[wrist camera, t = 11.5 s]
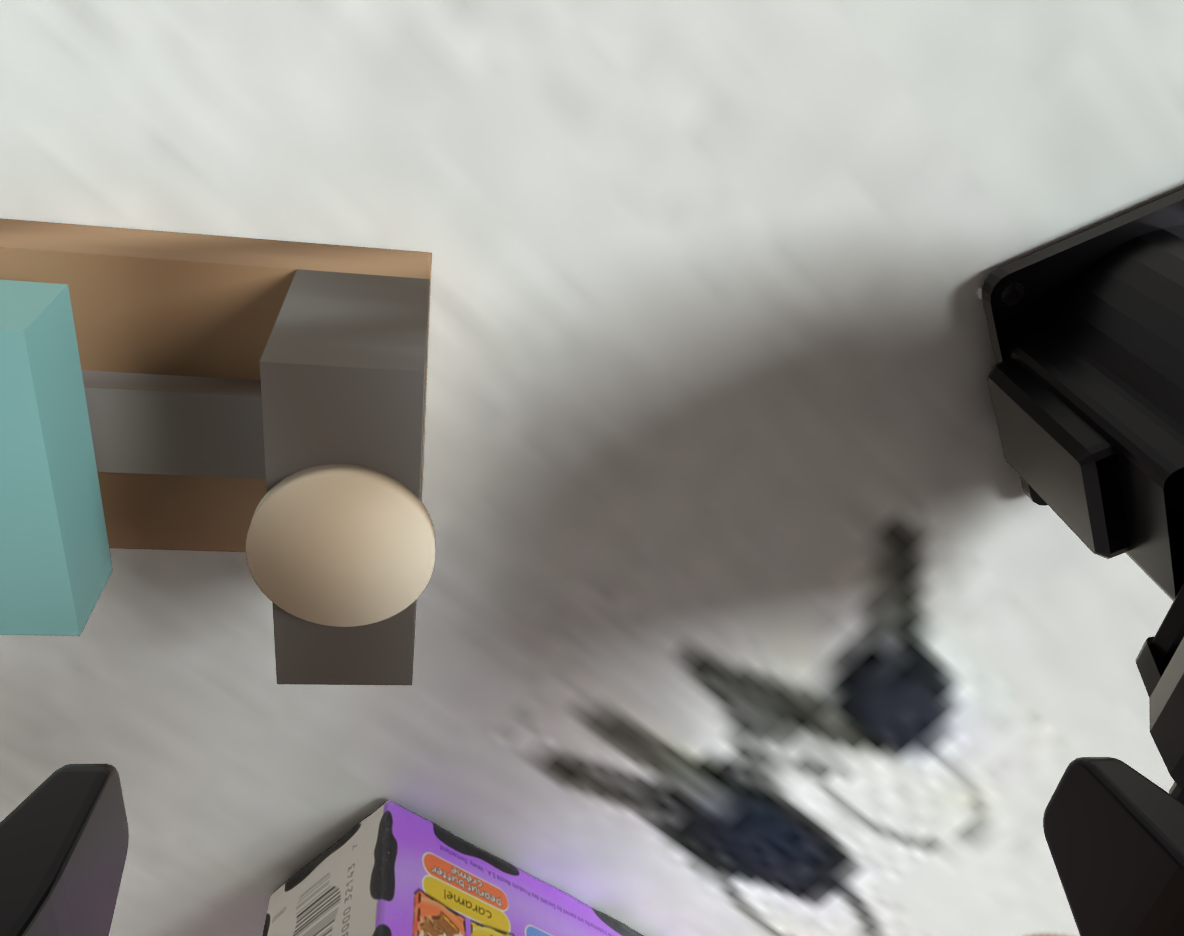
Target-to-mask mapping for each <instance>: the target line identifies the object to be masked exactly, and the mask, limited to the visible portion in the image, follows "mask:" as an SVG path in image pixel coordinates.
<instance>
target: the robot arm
mask: <svg viewBox="0 0 1184 936" xmlns="http://www.w3.org/2000/svg"><path fill="white" fill-rule="evenodd" d="M1013 283H1015V289H1014V291H1013V292H1012V294H1011V295H1009V296H1008V297H1007V298H1002V299H1001V297H1002V292H1003V291H1004V289H1005V288H1006V287H1007V286H1009V285H1010V284H1013ZM982 300H983V304H984V309H985V314H986V318H987V323H988V328H989V332H990V337H991V342H992V347H993V351H994V356H995V361H996V364H994V365H993V366H992V367H991V370H990V372H989V375H988V377H987V380H988V384H989V389H990V393H991V398H992V402H993V407H994V411H995V416H996V420H997V425H998V429H999V434H1000V438H1001V443H1002V448H1003V452H1004V456H1005V459H1006V460H1007V462H1008V463H1009V464H1010V465H1011V466H1012V467H1013V468H1014V469H1015V470H1016V471H1017V472H1018V473H1019V474H1020V478H1021V483H1022V488H1023V489H1024V491H1025V493H1026V494H1027V495H1028V496H1029V497H1030V499H1031V500H1032V501H1033V502H1035V503H1037V504H1038V505H1049V506H1050V507H1051V508H1052V510H1053V511H1054V512H1055V513H1056V514H1057V515H1058V516H1059V517H1060V518H1061V519H1062V520H1063V521H1064V522H1065V523H1066V524H1067V525H1068V527H1069V528H1070V529H1071V530H1072V531H1073V532H1074V533H1075V534H1076V535H1077V536H1078V537H1079V538H1080V539H1081V540H1082V541H1083V543H1084V544H1085V545H1086V546H1087V547H1088V548H1089V549H1090V550H1091V551H1092V552H1093V553H1094V554H1097V555H1099V556H1102V557H1104V558H1107V559H1109V558H1112V557H1114V556H1117V555H1119V554H1122V553H1126V554H1127V555H1128V556H1129V557H1130V558H1131V559H1132V560H1133V561H1134V562H1135V563H1136V564H1137V565H1138V566H1139V567H1140V568H1141V569H1142V570H1143V571H1144V572H1145V573H1146V574H1147V575H1148V576H1149V577H1150V578H1151V579H1152V580H1153V581H1154V582H1155V583H1156V584H1157V585H1158V586H1159V587H1160V588H1161V589H1162V590H1163V591H1164V592H1165V593H1166V594H1167V595H1168V596H1169V597H1170V598H1171V599H1172V600H1173V601H1174V602H1173V604H1172V606H1171V607H1170V609H1169V611H1168V613H1167V615H1166V617H1165V618H1164V620H1163V622H1162V624H1161V626H1160V628H1159V630H1158V631H1157V633H1156V635H1155V637H1149V638H1148V639H1147V640H1146V641H1145V643H1144V645H1143V647H1142V649H1141V651H1140V653H1139V655H1138V656H1137V658H1136V664H1137V667H1138V669H1139V672H1140V674H1141V677H1142V680H1143V682H1144V685H1145V687H1146V690H1147V693H1148V695H1149V698H1150V733H1151V735H1152V737H1153V739H1154V742H1155V744H1156V746H1157V748H1158V750H1159V752H1160V754H1161V756H1162V758H1163V761H1164V763H1165V765H1166V767H1167V769H1168V771H1169V773H1170V775H1171V777H1172V778H1173V779H1174V781H1175V782H1174V784H1173V786H1172V787H1171V789H1170V790H1169V793H1167V792H1166V791H1164V790H1163V789H1162V788H1160V787H1159V786H1157V785H1156V784H1154V783H1153V782H1151V781H1150V780H1149V779H1147V778H1146V777H1144V776H1143V775H1141V774H1140V773H1138V772H1137V771H1136V770H1134V769H1133V768H1131V767H1130V766H1128V765H1127V764H1125V763H1124V762H1122V761H1120V760H1118V759H1115V758H1111V757H1081V758H1077V759H1075V760H1074V761H1072V762H1071V763H1070V764H1069V766H1068V767H1067V769H1066V771H1065V773H1064V775H1063V776H1062V778H1061V780H1060V782H1059V784H1058V786H1057V788H1056V790H1055V792H1054V794H1053V796H1052V798H1051V800H1050V801H1049V803H1048V805H1047V807H1046V810H1045V812H1044V818H1043V827H1044V833H1045V837H1046V841H1047V843H1048V846H1049V849H1050V852H1051V855H1052V857H1053V860H1054V863H1055V866H1056V869H1057V871H1058V874H1059V877H1060V880H1061V883H1062V886H1063V888H1064V891H1065V894H1066V897H1067V900H1068V902H1069V905H1070V908H1071V911H1072V914H1073V916H1074V919H1075V922H1076V925H1077V928H1078V930H1079V933H1080V936H1184V189H1182V190H1179V191H1177V192H1175V193H1172V194H1170V195H1168V196H1165V197H1163V198H1161V199H1158V200H1156V201H1154V202H1151V203H1149V204H1147V205H1144V206H1142V207H1140V208H1137V209H1135V210H1133V211H1130V212H1128V213H1126V214H1124V215H1121V216H1119V217H1117V218H1114V219H1112V220H1110V221H1107V222H1105V223H1103V224H1100V225H1098V226H1096V227H1093V228H1091V229H1089V230H1086V231H1084V232H1082V233H1079V234H1077V235H1075V236H1072V237H1070V238H1068V239H1065V240H1063V241H1061V242H1058V243H1056V244H1054V245H1051V246H1049V247H1047V248H1044V249H1042V250H1040V251H1037V252H1035V253H1033V254H1030V255H1028V256H1026V257H1023V258H1021V259H1019V260H1016V261H1014V262H1012V263H1009V264H1007V265H1005V266H1002V267H1000V268H999V269H997V270H995V271H994V272H992V273H991V274H990V275H989V277H988V278H987V279H986V280H985V283H984V285H983V288H982ZM128 837H129V835H128V823H127V817H126V812H125V806H124V800H123V795H122V789H121V783H120V778H119V774H118V772H117V770H116V768H115V767H114V766H112V765H108V764H69V765H65V766H63V767H61V768H59V769H58V770H56V771H55V772H54V773H53V774H52V775H51V776H50V777H49V778H48V779H46V780H45V781H44V782H43V783H42V784H41V785H40V786H39V787H38V788H37V789H36V790H35V791H34V792H33V793H32V794H30V795H29V796H28V797H27V798H26V799H25V800H24V801H23V802H22V803H21V804H20V805H19V806H18V807H17V808H16V809H14V810H13V811H12V812H11V813H10V814H9V815H8V816H7V817H6V818H5V819H4V820H3V821H2V822H1V823H0V936H108V935H109V931H110V927H111V922H112V918H113V913H114V909H115V904H116V900H117V895H118V891H119V886H120V882H121V877H122V873H123V869H124V864H125V860H126V855H127V848H128Z"/></svg>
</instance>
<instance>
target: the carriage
mask: <svg viewBox="0 0 1184 936" xmlns="http://www.w3.org/2000/svg"><path fill="white" fill-rule="evenodd" d="M111 572H112V563H111V557H110V551H109V544H108V538H107V531H106V525H105V518H104V512H103V506H102V499H101V493H100V486H99V480H98V473H97V467H96V460H95V454H94V448H93V441H92V435H91V428H90V422H89V415H88V409H87V403H86V396H85V390H84V383H83V377H82V370H81V364H80V358H79V351H78V345H77V338H76V332H75V325H74V319H73V312H72V306H71V300H70V293H69V287H68V284H56V283H42V282H27V281H13V280H0V635H50V636H80V634H81V632H82V630H83V628H84V626H85V624H86V622H87V620H88V618H89V616H90V614H91V612H92V610H93V608H94V606H95V604H96V602H97V600H98V598H99V596H100V594H101V592H102V590H103V588H104V586H105V584H106V582H107V580H108V578H109V576H110V574H111Z"/></svg>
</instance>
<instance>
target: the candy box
mask: <svg viewBox="0 0 1184 936" xmlns="http://www.w3.org/2000/svg"><path fill="white" fill-rule="evenodd" d="M263 936H643V935H641V934H639V933H638V932H636V931H635V930H632V929H631V928H629V927H628V926H626V925H625V924H623V923H621V922H619V921H617V920H615V919H613V918H612V917H610V916H608V915H606V914H603V913H601V912H599V911H596V910H594V909H593V908H591V907H589V906H588V905H586V904H584V903H582V902H580V901H578V900H577V899H575V898H573V897H572V896H570V895H568V894H566V893H564V892H562V891H560V890H559V889H557V888H555V887H553V886H551V885H549V884H547V883H545V882H543V881H541V880H539V879H537V878H535V877H532V876H530V875H529V874H527V873H526V872H523V871H521V870H519V869H518V868H516V867H514V866H513V865H511V864H509V863H507V862H505V861H503V860H502V859H500V858H498V857H496V856H494V855H492V854H490V853H488V852H486V851H484V850H482V849H480V848H477V847H476V846H474V845H473V844H470V843H468V842H466V841H464V840H462V839H461V838H459V837H456V836H454V835H453V834H451V833H450V832H448V831H446V830H445V829H443V828H441V827H439V826H438V825H437V824H434V823H432V822H430V821H428V820H426V819H424V818H422V817H420V816H418V815H416V814H414V813H412V812H410V811H409V810H407V809H405V808H403V807H401V806H399V805H397V804H396V803H394V802H392V801H390V800H387V801H386V802H385V803H384V805H382V806H381V807H380V808H379V809H378V810H376V811H375V812H374V813H373V814H371V815H370V816H368V817H367V818H366V819H364V820H363V821H361V822H360V823H359V824H358V825H356V826H355V827H354V828H353V829H352V830H351V831H350V832H349V833H347V834H346V835H345V836H344V837H343V838H342V839H340V840H339V841H338V842H337V843H336V844H334V845H333V846H332V847H331V848H329V849H328V850H327V851H325V852H324V853H323V854H321V855H320V856H319V857H318V858H316V859H315V860H314V861H312V862H311V863H309V864H308V865H307V866H305V867H304V868H303V869H301V870H300V871H299V872H298V873H296V874H295V875H294V876H293V877H291V878H290V879H289V880H288V881H287V882H286V883H285V884H283V885H282V886H281V887H280V888H279V889H277V890H276V891H275V892H274V893H273V894H272V895H271V897H270V900H269V904H268V909H267V915H266V921H265V926H264V931H263Z"/></svg>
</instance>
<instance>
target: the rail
mask: <svg viewBox="0 0 1184 936" xmlns="http://www.w3.org/2000/svg"><path fill="white" fill-rule="evenodd" d="M431 261H432V253H429V252H416V251H403V250H391V249H378V248H365V247H353V246H340V245H327V244H315V243H302V242H289V241H277V240H264V239H251V238H239V237H226V236H213V235H201V234H188V233H175V232H163V231H150V230H137V229H125V228H112V227H99V226H87V225H74V224H61V223H49V222H36V221H23V220H11V219H0V280H13V281H27V282H42V283H56V284H68V287H69V293H70V300H71V306H72V312H73V319H74V325H75V332H76V338H77V345H78V351H79V358H80V364H81V370H82V377H83V383H84V390H85V396H86V403H87V409H88V415H89V422H90V428H91V435H92V441H93V448H94V454H95V460H96V467H97V473H98V480H99V486H100V493H101V499H102V506H103V512H104V518H105V525H106V531H107V538H108V544H109V548H123V549H158V550H193V551H228V552H246V558H247V564H248V567H249V570H250V573H251V575H252V577H253V579H254V581H255V582H256V584H257V585H258V587H259V588H260V589H261V591H262V592H263V593H264V594H265V595H266V596H267V597H268V598H269V599H270V600H271V601H272V602H273V618H274V637H275V655H276V674H277V684H328V685H412V674H413V656H414V638H415V620H416V602H417V598H418V597H419V596H420V595H421V593H422V592H423V590H424V589H425V587H426V586H427V584H428V582H429V580H430V578H431V575H432V572H433V568H434V562H435V531H434V526H433V523H432V520H431V517H430V515H429V513H428V511H427V509H426V508H425V506H424V505H423V503H422V483H423V459H424V434H425V409H426V384H427V360H428V335H429V310H430V286H431Z"/></svg>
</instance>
